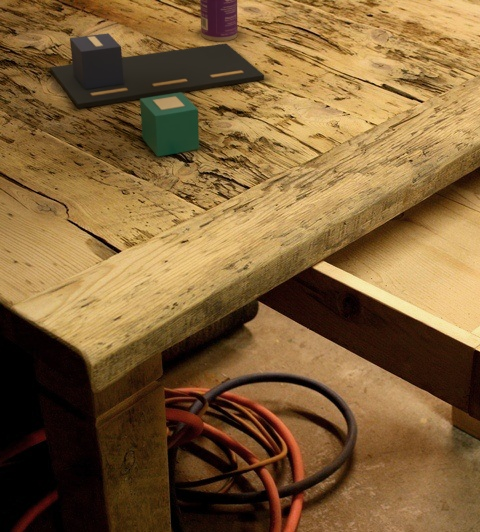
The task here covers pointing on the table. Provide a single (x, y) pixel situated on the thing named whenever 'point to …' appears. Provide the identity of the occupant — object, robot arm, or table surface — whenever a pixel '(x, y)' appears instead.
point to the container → (218, 19)
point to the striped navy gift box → (97, 61)
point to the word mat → (163, 75)
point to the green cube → (169, 124)
